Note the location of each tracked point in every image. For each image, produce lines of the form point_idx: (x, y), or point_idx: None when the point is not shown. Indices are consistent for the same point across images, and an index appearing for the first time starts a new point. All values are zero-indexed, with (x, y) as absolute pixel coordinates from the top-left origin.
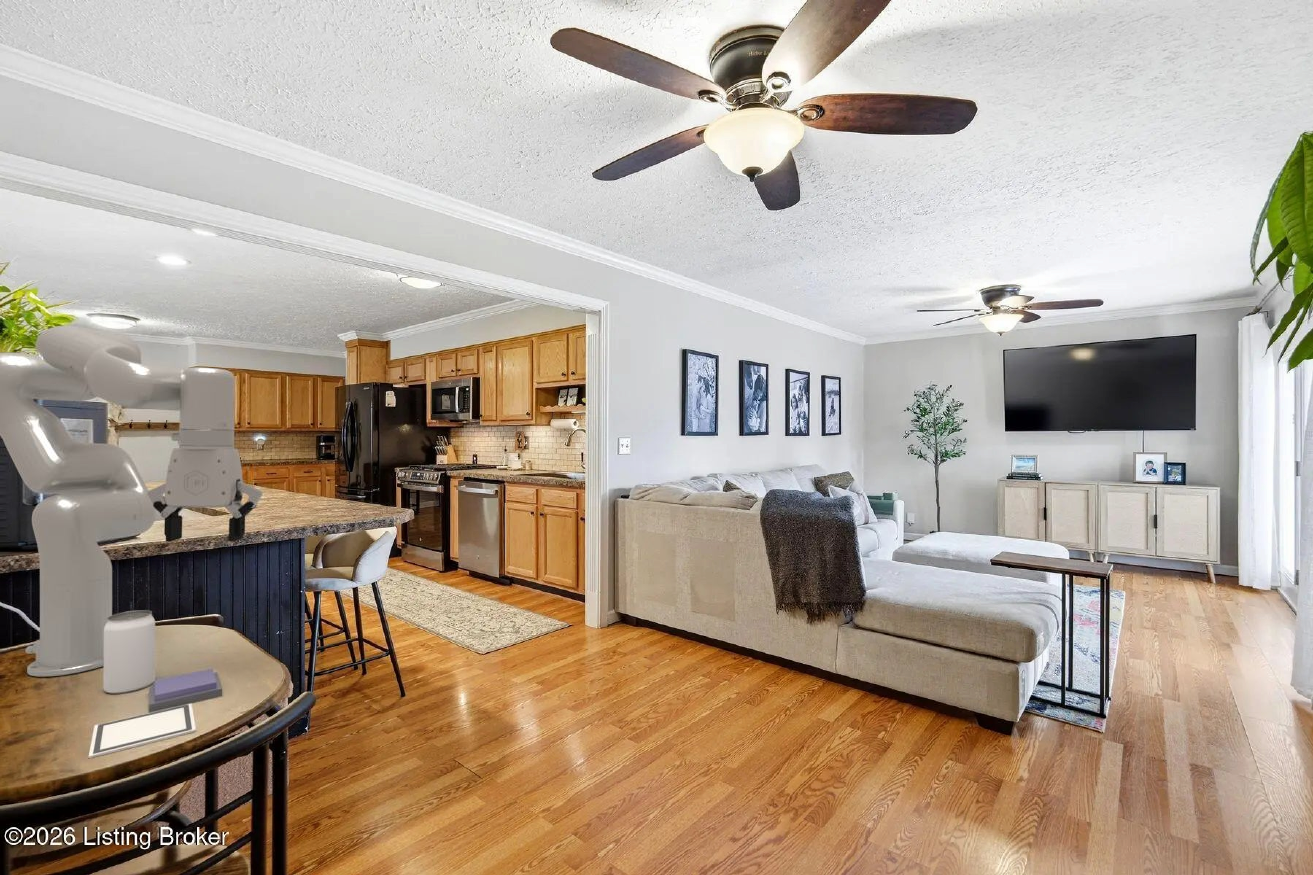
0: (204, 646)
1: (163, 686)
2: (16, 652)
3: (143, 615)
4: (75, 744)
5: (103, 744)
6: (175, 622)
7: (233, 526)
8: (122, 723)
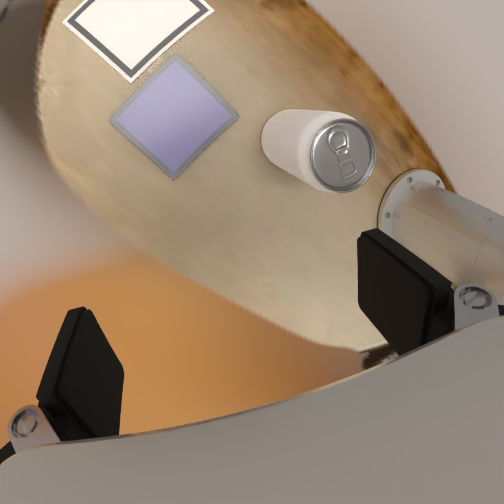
0: (303, 292)
1: (191, 92)
2: None
3: (323, 166)
4: None
5: None
6: None
7: (49, 360)
8: (178, 17)
